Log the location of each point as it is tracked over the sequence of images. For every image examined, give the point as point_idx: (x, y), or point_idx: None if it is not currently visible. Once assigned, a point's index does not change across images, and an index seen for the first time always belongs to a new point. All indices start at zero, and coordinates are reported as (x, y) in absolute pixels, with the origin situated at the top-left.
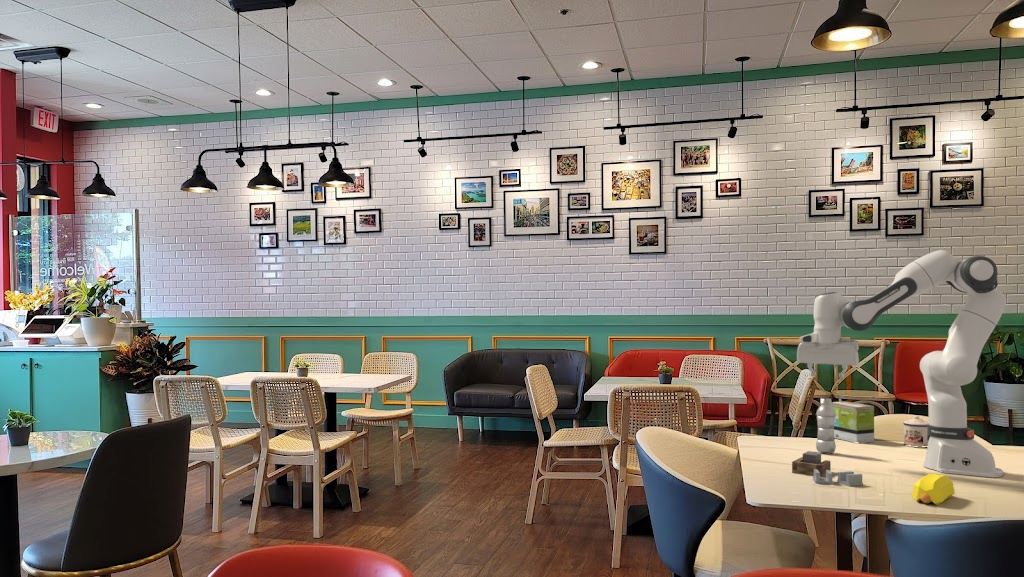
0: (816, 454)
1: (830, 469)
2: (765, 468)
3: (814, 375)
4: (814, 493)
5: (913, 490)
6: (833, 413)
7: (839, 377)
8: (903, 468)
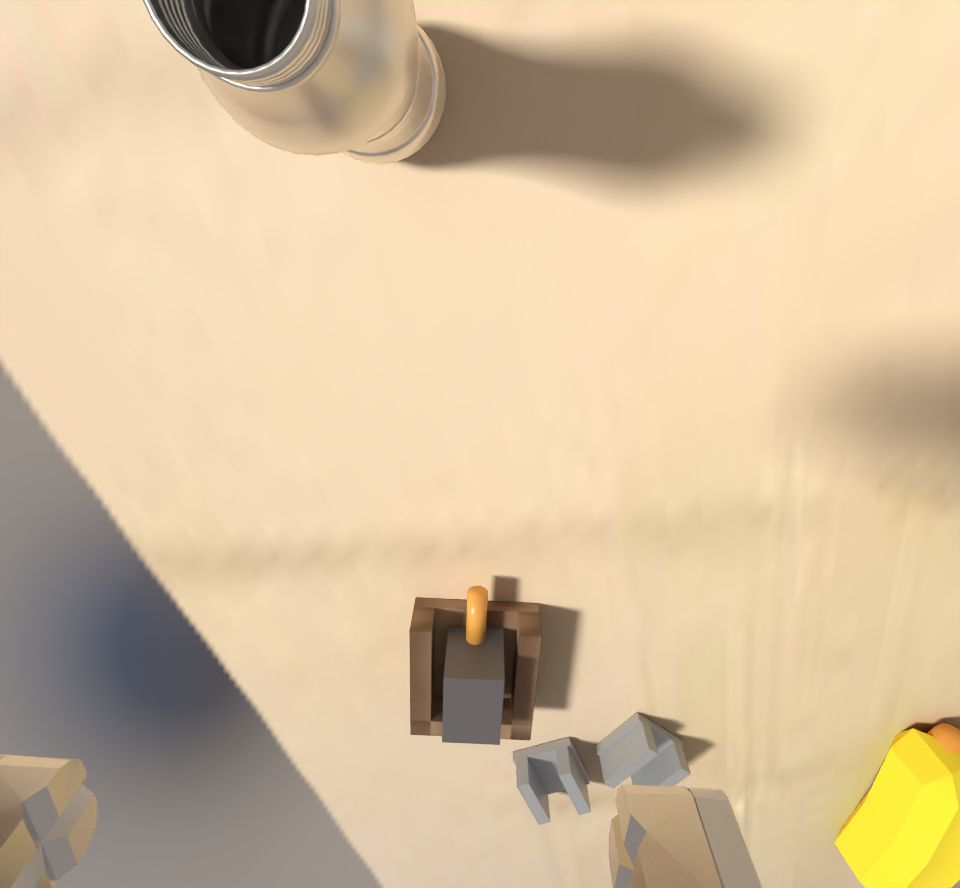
0: (497, 725)
1: (538, 609)
2: (306, 686)
3: (80, 843)
4: (560, 880)
5: (847, 862)
6: (404, 86)
7: (625, 853)
8: (862, 315)
